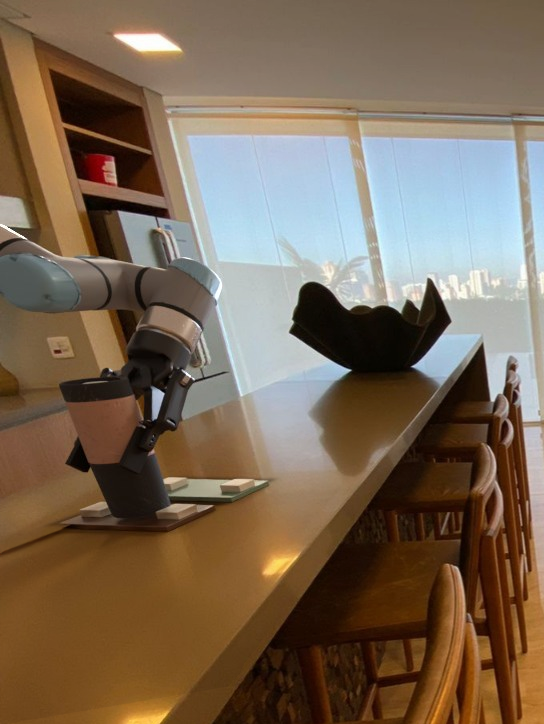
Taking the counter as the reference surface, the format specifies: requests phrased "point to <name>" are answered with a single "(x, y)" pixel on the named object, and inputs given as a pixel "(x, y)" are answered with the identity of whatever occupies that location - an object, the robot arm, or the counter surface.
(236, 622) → the counter surface
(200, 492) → the strip
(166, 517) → the strip
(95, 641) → the counter surface
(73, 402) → the travel mug
